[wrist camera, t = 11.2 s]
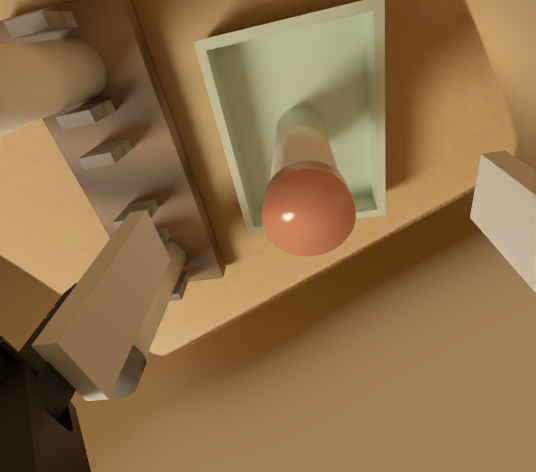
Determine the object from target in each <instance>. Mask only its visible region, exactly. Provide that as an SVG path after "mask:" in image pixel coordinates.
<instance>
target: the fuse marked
mask: <svg viewBox="0 0 536 472" xmlns="http://www.w3.org/2000/svg"><path fill="white" fill-rule="evenodd" d="M355 219H356V210H355V205H354V202H353V199H352V196H351V193H350V191H349V188H348V185H347V183H346V181H345V179H344V178H343V176H342V175H341V174H340V173H339V171H338V168H337V165H336V162H335V159H334V155H333V152H332V149H331V146H330V143H329V140H328V137H327V133H326V130H325V127H324V124H323V121H322V119H321V117H320V116H319V114H318V113H317V112H316V111H314V110H313V109H311V108H308V107H303V106H299V107H294V108H291V109H289V110H287V111H286V112H285V113H284V114H283V115H282V116H281V117H280V119H279V120H278V123H277V126H276V134H275V143H274V152H273V161H272V170H271V179H270V182H269V183H268V185H267V188H266V191H265V195H264V203H263V210H262V224H263V228H264V231H265V233H266V235H267V237H268V238H269V239H270V241H271V242H272V243H273V244H274V245H276V246H277V247H278V248H280V249H281V250H283V251H285V252H288V253H290V254H294V255H299V256H315V255H320V254H324V253H327V252H329V251H331V250H333V249H335V248H336V247H338V246H339V245H341V244H342V243H343V242H344V241H345V240H346V239H347V238H348V236H349V235H350V233H351V231H352V229H353V227H354V224H355Z"/></svg>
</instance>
